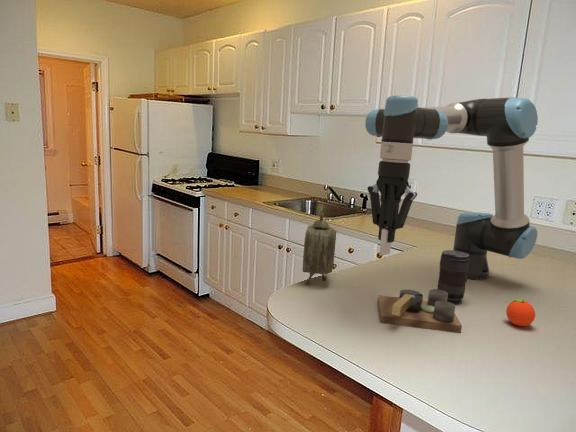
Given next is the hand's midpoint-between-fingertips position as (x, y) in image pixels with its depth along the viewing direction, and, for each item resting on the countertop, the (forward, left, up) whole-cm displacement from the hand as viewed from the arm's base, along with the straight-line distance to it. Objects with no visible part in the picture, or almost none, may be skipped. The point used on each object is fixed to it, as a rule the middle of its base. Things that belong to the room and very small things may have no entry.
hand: (384, 253), depth 108 cm
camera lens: (-23, -22, -19) cm, 37 cm away
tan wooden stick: (-7, -2, -16) cm, 18 cm away
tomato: (-38, -9, -19) cm, 43 cm away
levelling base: (-11, -6, -18) cm, 22 cm away
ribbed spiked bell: (+18, -26, -19) cm, 37 cm away
